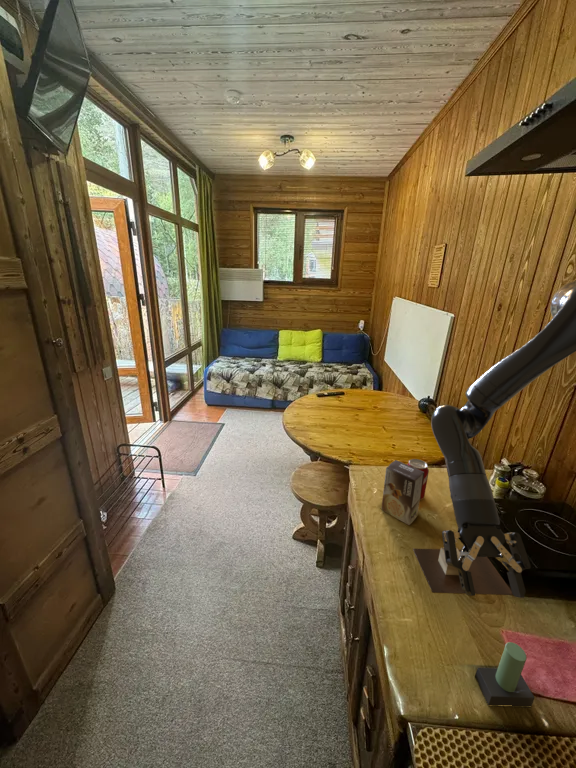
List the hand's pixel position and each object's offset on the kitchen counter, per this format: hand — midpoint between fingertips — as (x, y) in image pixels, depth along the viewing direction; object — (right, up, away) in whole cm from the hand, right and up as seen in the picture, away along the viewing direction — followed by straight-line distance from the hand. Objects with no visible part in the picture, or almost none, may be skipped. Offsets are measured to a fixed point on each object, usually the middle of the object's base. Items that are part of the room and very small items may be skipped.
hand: (494, 596), depth 55 cm
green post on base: (0, -15, -2) cm, 15 cm away
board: (+4, -8, +19) cm, 21 cm away
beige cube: (+2, -6, +19) cm, 20 cm away
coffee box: (-3, -2, +38) cm, 38 cm away
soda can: (+5, +1, +47) cm, 48 cm away
